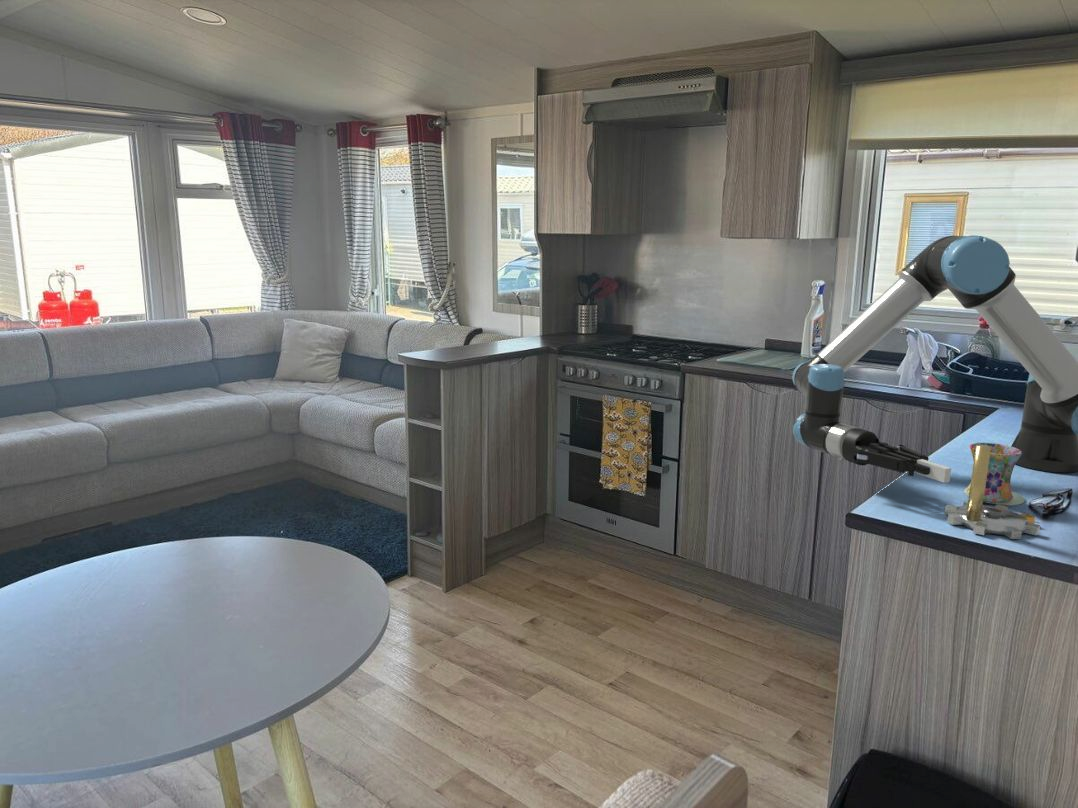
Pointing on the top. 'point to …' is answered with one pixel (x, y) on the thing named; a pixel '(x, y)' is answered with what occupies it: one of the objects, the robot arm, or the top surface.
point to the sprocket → (988, 507)
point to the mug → (998, 471)
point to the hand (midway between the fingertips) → (947, 475)
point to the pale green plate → (1015, 501)
